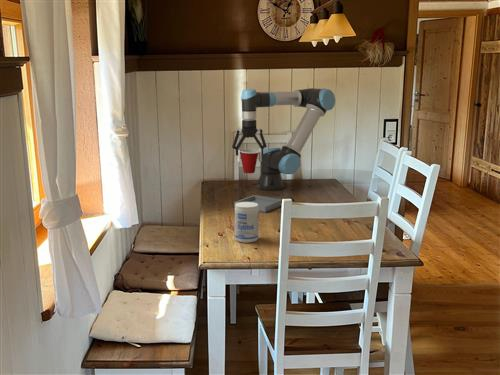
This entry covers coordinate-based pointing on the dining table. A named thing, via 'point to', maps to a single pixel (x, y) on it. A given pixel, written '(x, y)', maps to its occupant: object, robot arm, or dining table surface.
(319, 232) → the dining table surface
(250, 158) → the plastic cup
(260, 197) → the tray
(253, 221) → the supplement tub
